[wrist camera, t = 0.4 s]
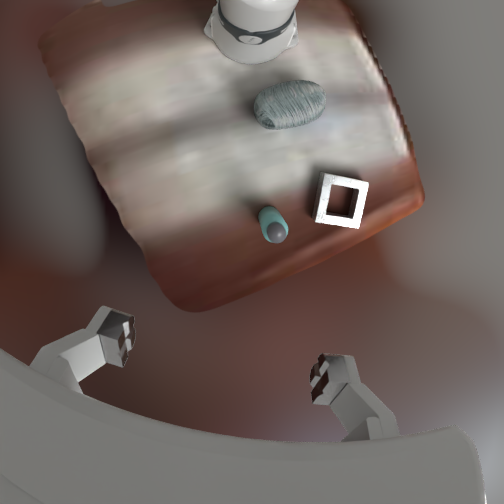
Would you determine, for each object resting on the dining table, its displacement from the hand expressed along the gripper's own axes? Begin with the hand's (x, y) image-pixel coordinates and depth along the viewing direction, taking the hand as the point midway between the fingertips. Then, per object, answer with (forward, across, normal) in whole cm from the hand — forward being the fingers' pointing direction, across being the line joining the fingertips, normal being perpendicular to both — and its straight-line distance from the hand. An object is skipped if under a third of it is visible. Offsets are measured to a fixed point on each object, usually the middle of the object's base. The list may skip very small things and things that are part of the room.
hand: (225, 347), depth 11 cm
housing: (+48, -18, +4) cm, 51 cm away
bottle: (+46, -5, +11) cm, 47 cm away
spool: (+48, -3, -12) cm, 50 cm away
